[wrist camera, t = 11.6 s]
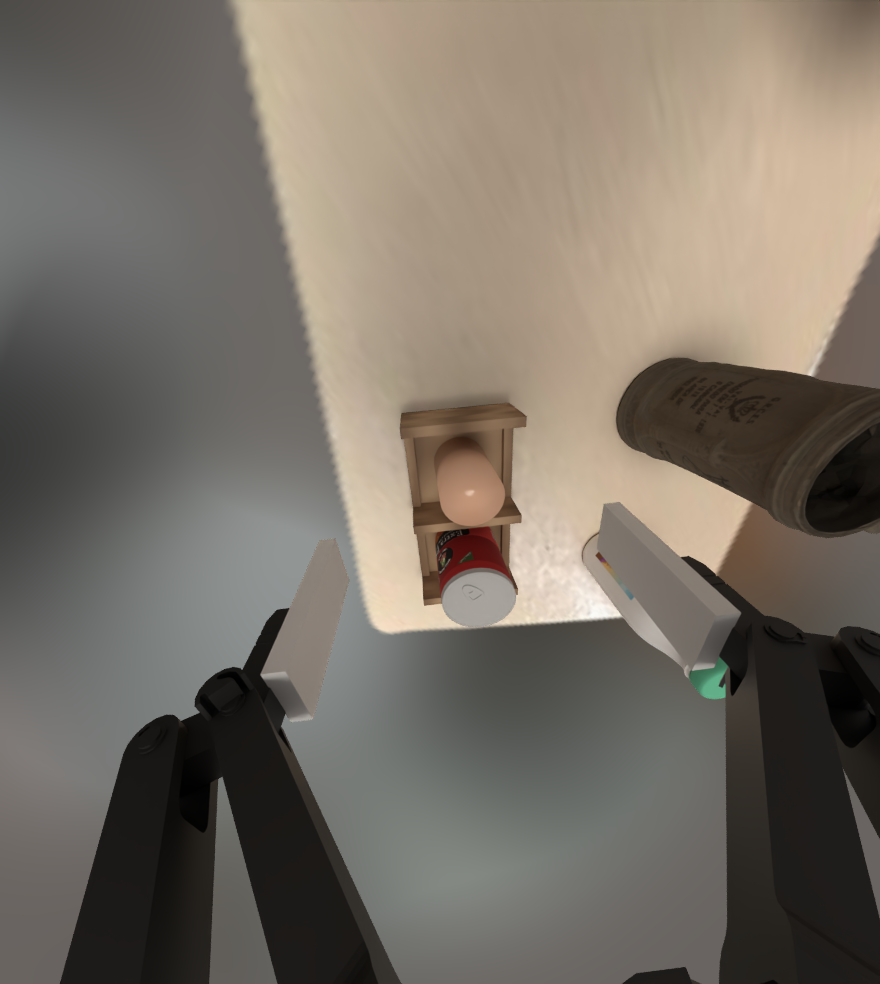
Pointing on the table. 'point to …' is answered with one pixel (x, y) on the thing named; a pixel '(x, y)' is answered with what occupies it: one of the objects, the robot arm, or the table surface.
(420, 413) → the rack
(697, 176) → the table surface
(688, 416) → the beer stein
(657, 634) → the milk bottle
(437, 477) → the peach rounded block
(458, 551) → the canned food
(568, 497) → the table surface
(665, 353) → the table surface
